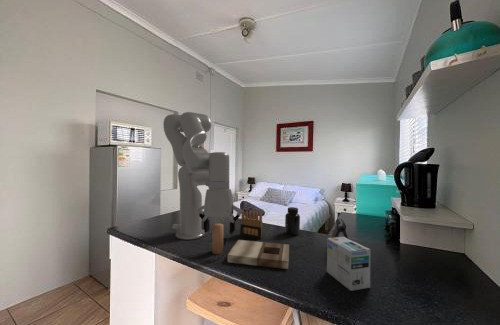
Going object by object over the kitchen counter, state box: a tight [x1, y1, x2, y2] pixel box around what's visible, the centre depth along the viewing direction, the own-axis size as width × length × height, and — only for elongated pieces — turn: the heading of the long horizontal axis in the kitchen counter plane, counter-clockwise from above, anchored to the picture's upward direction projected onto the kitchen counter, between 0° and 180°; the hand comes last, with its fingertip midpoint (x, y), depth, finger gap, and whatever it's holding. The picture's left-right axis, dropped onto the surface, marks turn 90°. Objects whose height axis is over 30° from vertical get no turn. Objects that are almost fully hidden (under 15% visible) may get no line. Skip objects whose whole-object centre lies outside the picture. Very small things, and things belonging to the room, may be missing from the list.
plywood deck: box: [227, 239, 290, 270], centre depth 78 cm, size 20×14×2 cm
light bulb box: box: [326, 236, 371, 292], centre depth 64 cm, size 11×7×11 cm, turn 17°
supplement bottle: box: [284, 206, 301, 237], centre depth 103 cm, size 7×7×12 cm
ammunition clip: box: [239, 208, 264, 240], centre depth 98 cm, size 11×2×12 cm, turn 63°
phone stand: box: [330, 218, 349, 239], centre depth 83 cm, size 9×6×12 cm, turn 73°
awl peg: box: [211, 223, 225, 255], centre depth 81 cm, size 4×4×10 cm
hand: (219, 232), depth 80 cm, fingers open, 9 cm apart
